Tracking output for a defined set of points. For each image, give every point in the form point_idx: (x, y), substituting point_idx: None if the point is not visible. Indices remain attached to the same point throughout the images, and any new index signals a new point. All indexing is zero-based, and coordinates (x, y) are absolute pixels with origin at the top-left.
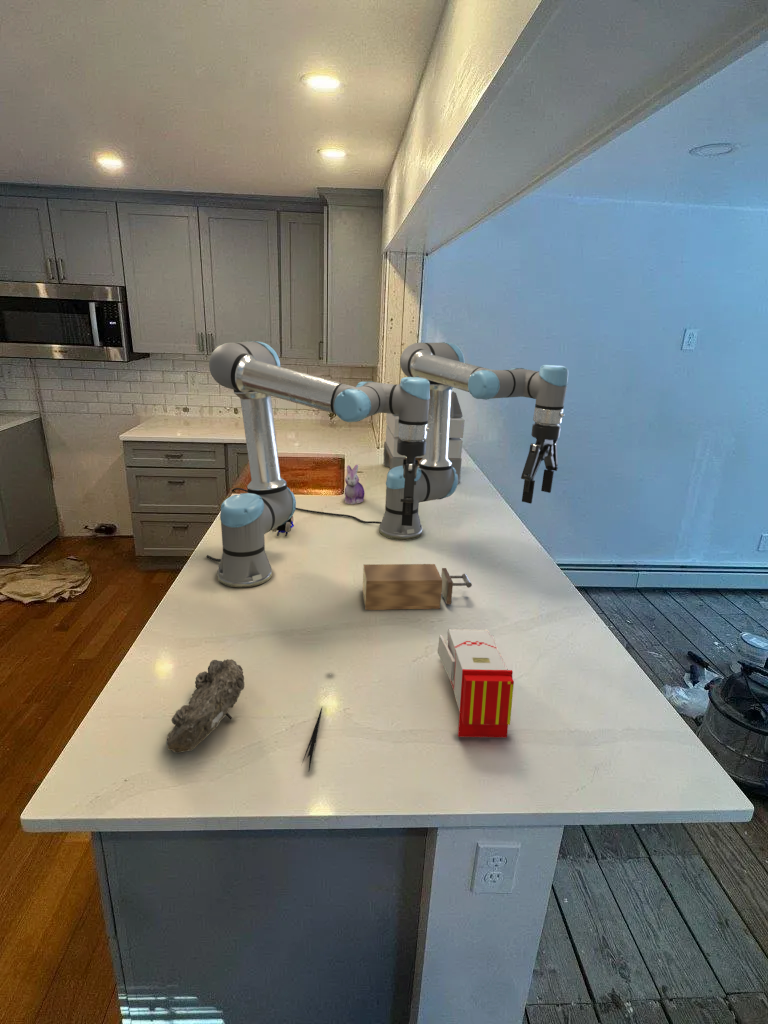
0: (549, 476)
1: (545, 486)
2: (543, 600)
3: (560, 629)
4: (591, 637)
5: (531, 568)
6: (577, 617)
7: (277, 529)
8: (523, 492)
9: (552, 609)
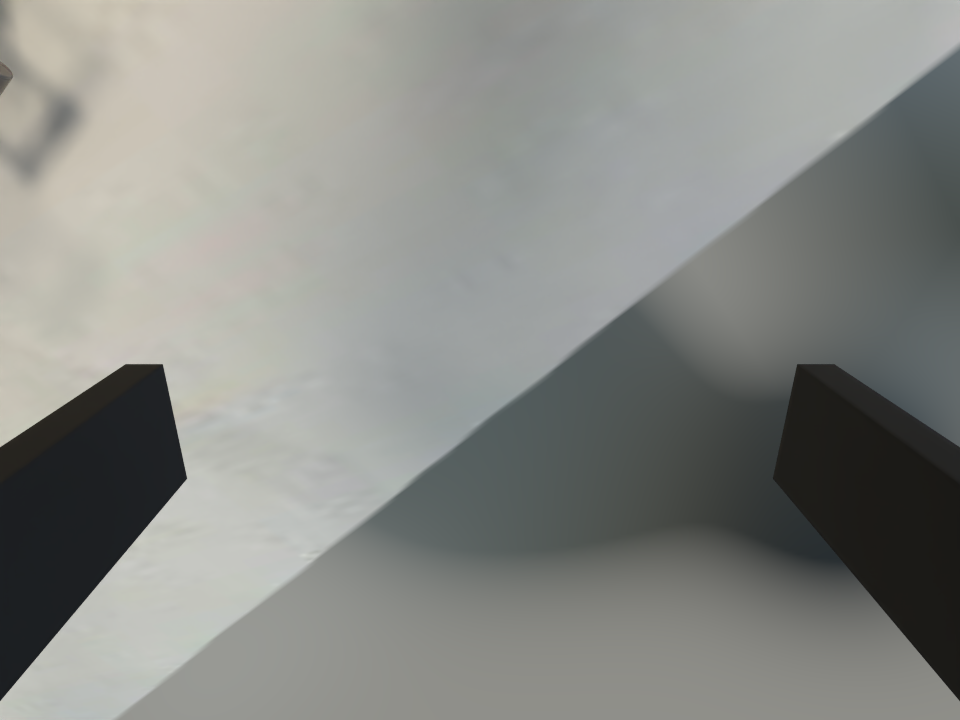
0: (950, 623)
1: (830, 454)
2: (327, 380)
3: (180, 498)
4: (217, 577)
5: (597, 211)
6: (303, 511)
7: None
8: (35, 436)
9: (287, 431)
